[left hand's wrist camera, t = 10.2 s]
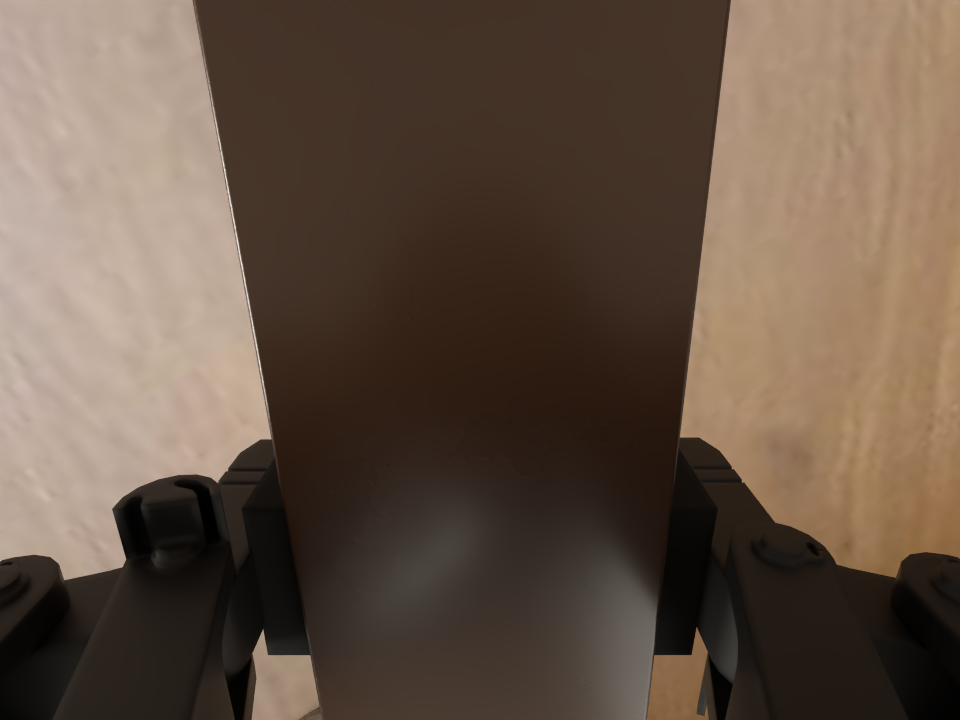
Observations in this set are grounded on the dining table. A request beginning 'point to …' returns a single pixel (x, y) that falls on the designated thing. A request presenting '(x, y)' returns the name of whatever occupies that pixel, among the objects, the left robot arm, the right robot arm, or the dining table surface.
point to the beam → (472, 330)
